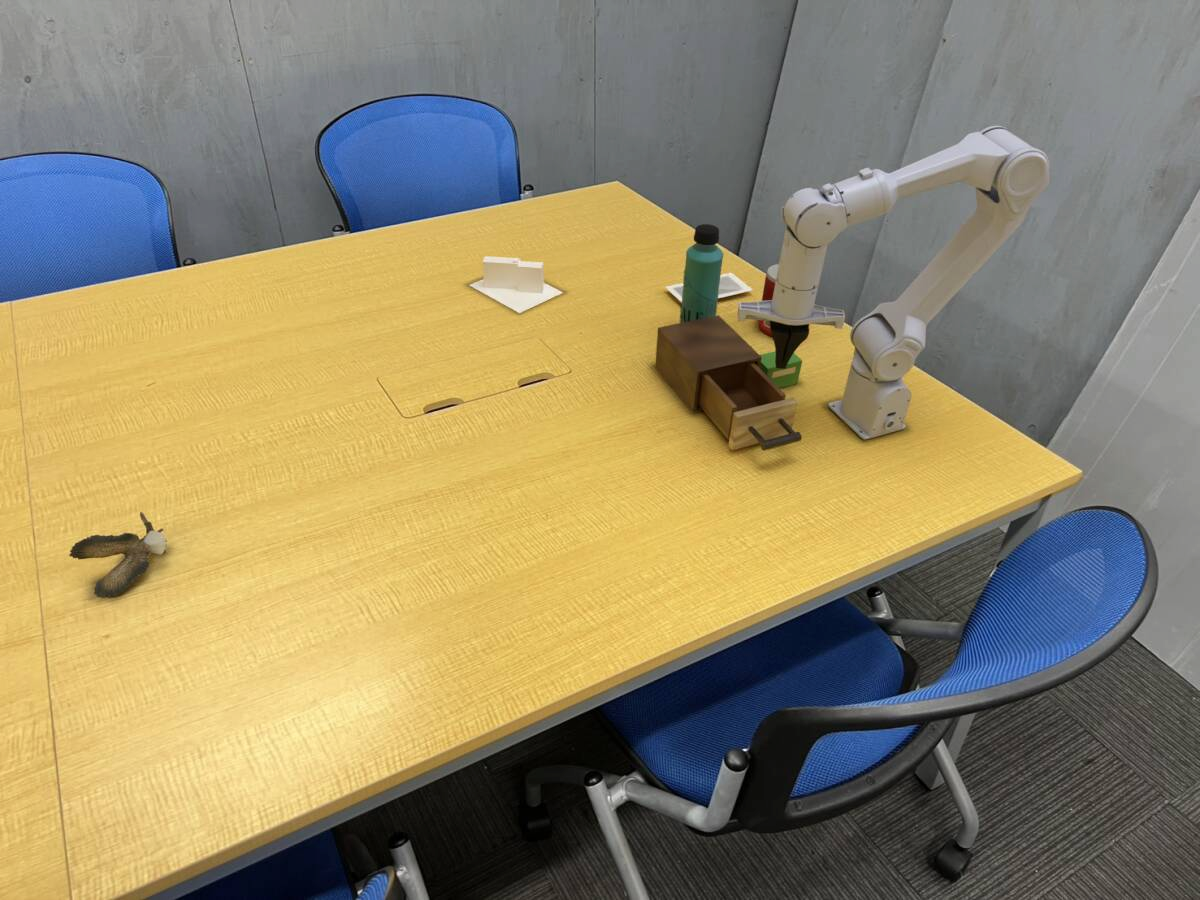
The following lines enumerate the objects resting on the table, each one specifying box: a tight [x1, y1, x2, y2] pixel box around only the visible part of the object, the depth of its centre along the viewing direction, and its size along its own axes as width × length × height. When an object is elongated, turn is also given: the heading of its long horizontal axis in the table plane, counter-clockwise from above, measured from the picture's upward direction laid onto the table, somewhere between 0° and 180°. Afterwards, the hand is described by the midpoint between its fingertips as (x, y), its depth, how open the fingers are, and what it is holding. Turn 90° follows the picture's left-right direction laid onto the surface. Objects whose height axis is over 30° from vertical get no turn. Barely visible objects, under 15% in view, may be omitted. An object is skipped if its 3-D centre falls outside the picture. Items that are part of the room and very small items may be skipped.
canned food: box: [758, 263, 779, 337], centre depth 142 cm, size 8×8×11 cm
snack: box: [759, 350, 803, 389], centre depth 131 cm, size 4×6×4 cm, turn 113°
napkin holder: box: [468, 255, 564, 314], centre depth 153 cm, size 15×11×6 cm
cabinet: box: [654, 314, 762, 413], centre depth 130 cm, size 14×11×8 cm
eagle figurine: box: [68, 511, 168, 598], centre depth 97 cm, size 8×7×9 cm
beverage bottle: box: [678, 223, 724, 323], centre depth 137 cm, size 6×7×20 cm
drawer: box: [697, 362, 803, 452], centre depth 120 cm, size 18×10×6 cm, turn 22°
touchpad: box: [664, 272, 754, 303], centre depth 154 cm, size 8×15×2 cm, turn 115°
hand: (780, 364), depth 118 cm, fingers closed
